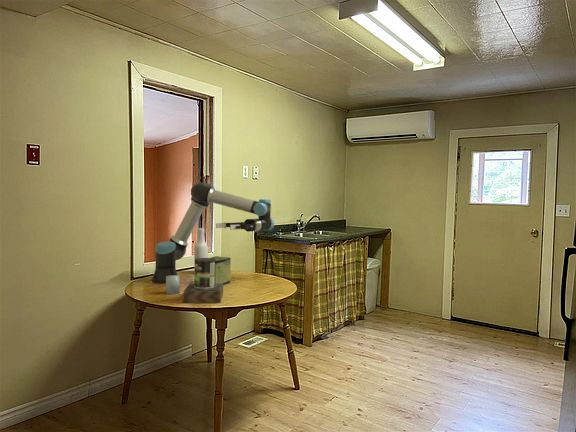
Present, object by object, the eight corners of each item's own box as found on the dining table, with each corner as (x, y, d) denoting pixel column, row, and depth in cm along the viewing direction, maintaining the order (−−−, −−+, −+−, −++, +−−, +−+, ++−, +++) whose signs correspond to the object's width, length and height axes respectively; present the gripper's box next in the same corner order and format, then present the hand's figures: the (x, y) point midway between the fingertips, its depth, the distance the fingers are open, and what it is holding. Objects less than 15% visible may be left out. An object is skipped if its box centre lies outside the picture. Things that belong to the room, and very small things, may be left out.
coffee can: (200, 289, 211) (201, 261, 210) (190, 286, 218) (190, 258, 218) (218, 287, 218) (218, 259, 217) (207, 283, 225) (208, 257, 225)
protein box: (230, 282, 257) (231, 257, 257) (215, 287, 243) (216, 260, 243) (216, 281, 262) (216, 255, 261) (200, 285, 248) (201, 259, 247)
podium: (183, 302, 209) (183, 290, 209) (188, 294, 227) (188, 283, 226) (220, 302, 210) (220, 290, 210) (223, 294, 228) (223, 283, 228)
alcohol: (195, 272, 290) (195, 227, 288) (208, 272, 290) (208, 228, 289) (193, 274, 281) (193, 229, 279) (206, 274, 281) (207, 229, 280)
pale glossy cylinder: (164, 294, 225) (164, 277, 225) (167, 291, 232) (167, 275, 232) (178, 294, 226) (178, 277, 225) (180, 291, 233) (180, 275, 232)
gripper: (265, 233, 248) (236, 234, 233) (239, 229, 266) (210, 231, 251) (266, 220, 248) (236, 221, 233) (239, 217, 266) (210, 218, 251)
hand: (223, 226), depth 242 cm, fingers open, 13 cm apart
